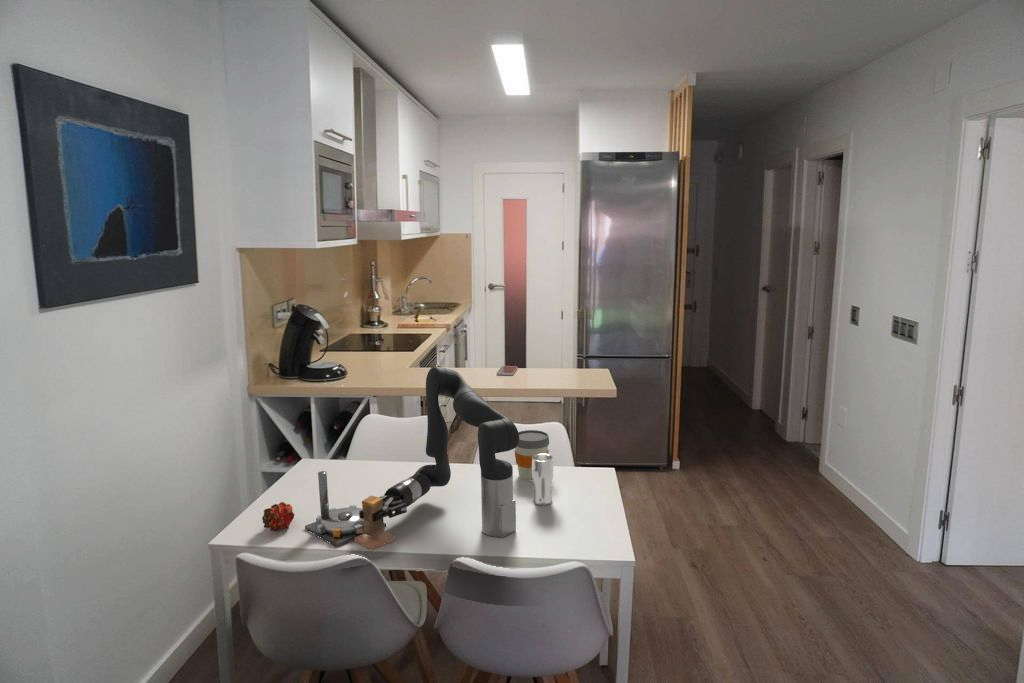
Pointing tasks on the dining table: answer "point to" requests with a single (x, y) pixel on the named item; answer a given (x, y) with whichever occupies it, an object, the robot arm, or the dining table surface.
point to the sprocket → (336, 514)
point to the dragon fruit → (278, 516)
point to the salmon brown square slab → (374, 540)
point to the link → (370, 507)
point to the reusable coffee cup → (530, 450)
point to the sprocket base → (329, 537)
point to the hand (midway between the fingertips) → (366, 516)
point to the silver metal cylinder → (542, 478)
